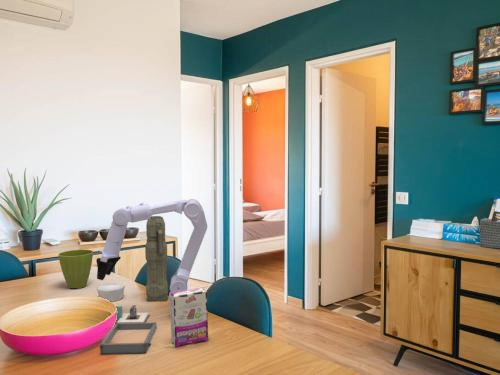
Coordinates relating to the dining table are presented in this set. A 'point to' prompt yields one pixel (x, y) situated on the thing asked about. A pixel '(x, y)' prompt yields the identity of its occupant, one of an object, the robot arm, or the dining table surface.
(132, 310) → the metal T-head stake
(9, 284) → the dining table surface
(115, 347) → the charcoal tray
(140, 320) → the cream ring
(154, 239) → the stone pillar statue
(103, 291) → the ramekin
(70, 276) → the flower pot
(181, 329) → the candy bar box
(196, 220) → the robot arm
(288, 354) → the dining table surface
